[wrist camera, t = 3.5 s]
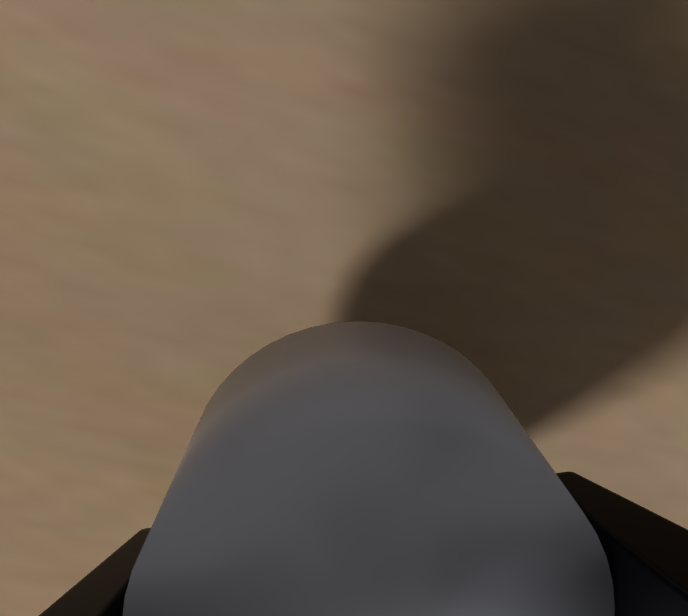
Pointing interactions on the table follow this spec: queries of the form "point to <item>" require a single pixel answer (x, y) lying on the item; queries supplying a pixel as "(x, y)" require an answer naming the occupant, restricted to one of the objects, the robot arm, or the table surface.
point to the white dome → (366, 494)
